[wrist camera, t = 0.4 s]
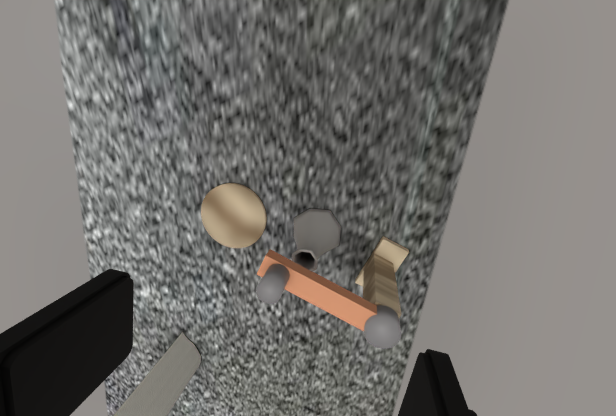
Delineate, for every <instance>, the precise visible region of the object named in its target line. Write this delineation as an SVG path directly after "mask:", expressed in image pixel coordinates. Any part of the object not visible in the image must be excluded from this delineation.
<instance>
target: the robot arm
mask: <svg viewBox="0 0 616 416" xmlns="http://www.w3.org/2000/svg"><path fill="white" fill-rule="evenodd" d="M132 345H133V280H132V279H131V278H130V275H129V274H128V273H126V272H122V271H118V270H114V269H109V270H106V271H105V272H103V273H101V274H100V275H98V276H96V277H95V278H93V279H91V280H90V281H88V282H86V283H85V284H83V285H81V286H80V287H78V288H76V289H75V290H73V291H71V292H70V293H68V294H66V295H65V296H63V297H61V298H60V299H58V300H56V301H55V302H53V303H51V304H50V305H48V306H46V307H44V308H43V309H41V310H39V311H38V312H36V313H34V314H33V315H31V316H29V317H28V318H26V319H25V320H23V321H21V322H19V323H18V324H16V325H14V326H13V327H11V328H9V329H8V330H6V331H4V332H3V333H1V334H0V416H70V415H71V414H72V412H74V411H75V409H77V407H78V406H79V405H80V404H81V403H82V402H83V401H84V400H85V399H86V398H87V397H88V396H89V395H90V394H91V393H92V392H93V391H94V390H95V389H96V388H97V387H98V386H99V385H100V384H101V383H102V382H103V381H104V380H105V379H106V378H107V377H108V376H109V375H110V374H111V373H112V372H113V371H114V370H115V369H116V368H117V367H118V366H119V365H120V364H121V363H122V362H123V361H124V360H125V359H126V358H127V356H128V355H129V353H130V352H131V349H132ZM398 416H477V414H476V413H475V412H474V411H473V410H469V409H468V407H467V404H466V401H465V399H464V396H463V393H462V390H461V387H460V385H459V382H458V379H457V377H456V374H455V371H454V368H453V366H452V363H451V360H450V357H449V355H448V354H446V353H442V352H437V351H434V350H430V349H427V350H426V352H425V353H419V355H418V357H417V361H416V363H415V366H414V369H413V372H412V375H411V378H410V381H409V384H408V387H407V390H406V393H405V396H404V399H403V402H402V405H401V408H400V411H399V414H398Z"/></svg>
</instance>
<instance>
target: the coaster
mask: <svg viewBox="0 0 616 416" xmlns="http://www.w3.org/2000/svg"><path fill="white" fill-rule="evenodd" d="M201 217H202V221H203V224H204V226H205V228H206V230H207V232H208V233H209V234H210V236H211V237H212V238H213V239H215V240H216V241H217V242H219V243H220V244H222V245H224V246H227V247H231V248H243V247H247V246H250V245H252V244H253V243H255V242H256V241H257V240H258V239H259V238H260V236H261V235H262V234H263V232H264V230H265V227H266V222H267V215H266V210H265V207H264V205H263V203H262V201H261V199H260V198H259V197H258V195H257V194H256V193H255V192H253V191H252V190H251V189H249V188H248V187H246V186H243V185H241V184H236V183H226V184H222V185H219V186H217V187H215V188H214V189H212V190H211V191H210V192H209V193H208V194H207V195H206V197H205V198H204V200H203V203H202V208H201Z"/></svg>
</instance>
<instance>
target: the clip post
mask: <svg viewBox="0 0 616 416" xmlns="http://www.w3.org/2000/svg"><path fill="white" fill-rule="evenodd" d="M408 253H409V250H408V249H407V248H405V247H403V246H401V245H399V244H397V243H395V242H393V241H391V240H389V239H388V238H386V237H384V236H383V237H382V238H381V240H380V241H379V243H378V245H377V246H376V248H375V249H374V251H373V253H372V254H371V256H370V257H369V259H368V260H367V262H366V264H365V265H364V267H363V268H362V270H361V272H360V273H359V275H358V276H357V278H356V281H355V283H357V284H359V285H361V286H363V299H365V300H367V301H369V302H371V303H373V304H374V305H376V306H378V305H384V306H388V307H390V308H392V309H393V310H394V311H395V312H396V313H397V315H398V317H400V316H401V309H400V303H399V297H398V290H397V284H396V278H395V272H396V271H397V269H398V268H399V266H400V265H401V263H402V262H403V260H404V259H405V258H406V256H407V255H408Z"/></svg>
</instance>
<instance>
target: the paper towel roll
mask: <svg viewBox="0 0 616 416" xmlns="http://www.w3.org/2000/svg"><path fill="white" fill-rule="evenodd" d="M200 363H201V355H200V353H199V351H198V350H197V348H196V346H195V345H194V344H193V343H192V342H191V341H190V340H188V339H187V337H186V336H185V335H184V333H183V332H182V333H181V334H180V336H179V337H178V338H177V339H176V340H175V342H174V343H173V344H172V345H171V346H170V348H169V349H168V350H167V351H166V353H165V354H164V355H163V356H162V357H161V359H160V360H159V361H158V362H157V363H156V365H155V366H154V367H153V368H152V370H151V371H150V372H149V373H148V374H147V376H146V377H145V378H144V379H143V380H142V382H141V383H140V384H139V385H138V387H137V388H136V389H135V390H134V391H133V393H132V394H131V395H130V396H129V397H128V399H127V400H126V401H125V402H124V404H123V405H122V406H121V407H120V408H119V410H118V411H117V412H116V413H115V414H114V416H167V415H168V413H169V412H170V410H171V408H172V407H173V405H174V404H175V402H176V401H177V399H178V398H179V396H180V395H181V393H182V392H183V390H184V388H185V387H186V385H187V384H188V382H189V381H190V379H191V378H192V376H193V375H194V373H195V372H196V370H197V369H198V367H199V365H200Z"/></svg>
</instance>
